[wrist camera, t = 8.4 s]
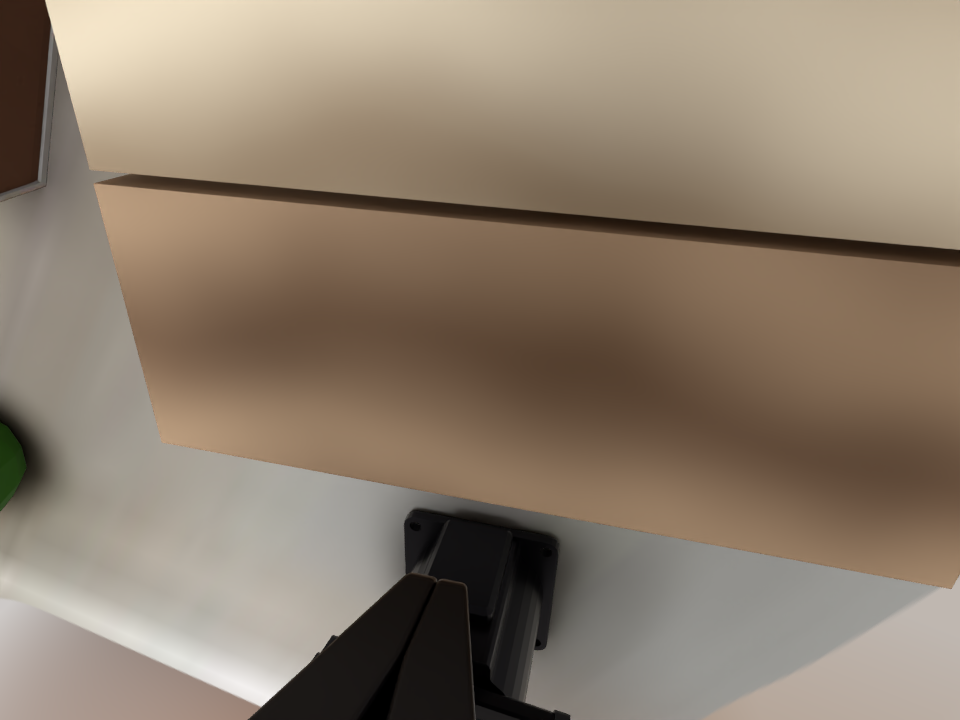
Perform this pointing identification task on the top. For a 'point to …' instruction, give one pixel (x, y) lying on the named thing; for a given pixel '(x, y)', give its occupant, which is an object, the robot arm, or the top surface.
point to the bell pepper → (9, 465)
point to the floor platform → (561, 363)
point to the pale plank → (542, 105)
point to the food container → (25, 95)
